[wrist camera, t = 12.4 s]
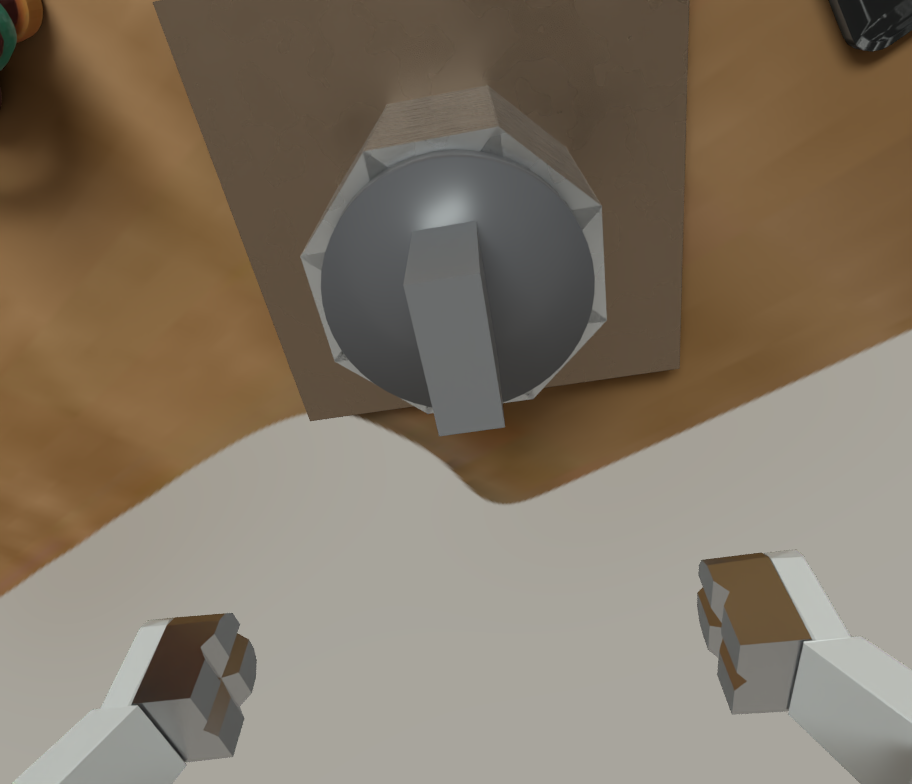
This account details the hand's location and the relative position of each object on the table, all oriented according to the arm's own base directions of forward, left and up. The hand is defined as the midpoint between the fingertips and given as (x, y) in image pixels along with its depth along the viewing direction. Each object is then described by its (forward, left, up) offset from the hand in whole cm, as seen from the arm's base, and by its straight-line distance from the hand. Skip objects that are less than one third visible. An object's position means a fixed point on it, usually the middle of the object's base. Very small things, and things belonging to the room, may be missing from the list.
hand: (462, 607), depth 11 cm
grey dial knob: (0, 0, -15) cm, 15 cm away
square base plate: (0, 0, -23) cm, 23 cm away
